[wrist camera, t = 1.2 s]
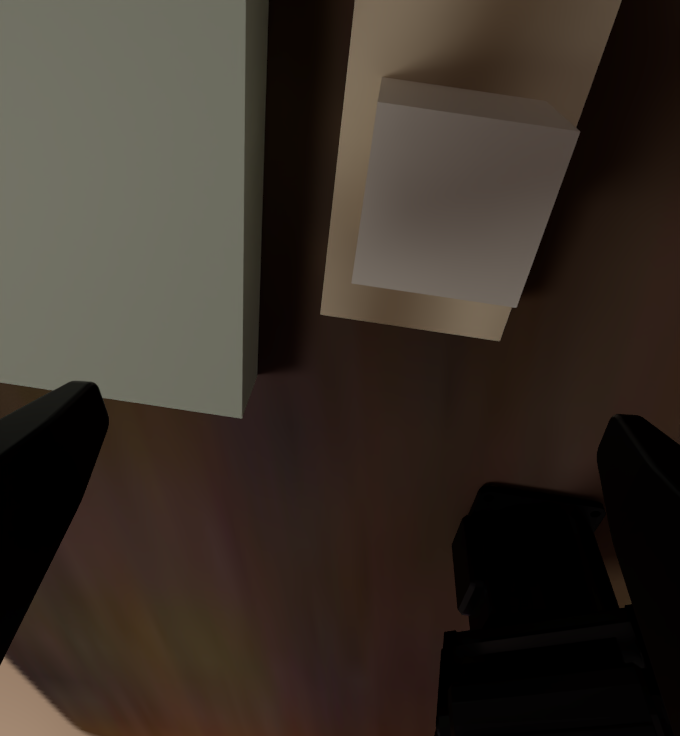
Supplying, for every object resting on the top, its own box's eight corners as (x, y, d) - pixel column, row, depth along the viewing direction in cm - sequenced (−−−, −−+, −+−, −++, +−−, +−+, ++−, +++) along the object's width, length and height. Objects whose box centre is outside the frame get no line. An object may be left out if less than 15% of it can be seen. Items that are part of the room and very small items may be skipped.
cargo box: (546, 100, 15) (580, 131, 12) (497, 253, 17) (516, 307, 14) (382, 76, 15) (377, 101, 12) (359, 233, 17) (351, 283, 14)
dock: (281, -419, 12) (250, -521, 9) (257, 375, 25) (241, 418, 22) (-263, -498, 12) (-435, -620, 9) (1, 336, 25) (-42, 376, 22)
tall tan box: (599, -41, 15) (637, -43, 13) (488, 300, 22) (499, 340, 19) (369, -75, 15) (364, -83, 13) (329, 276, 22) (320, 314, 19)
